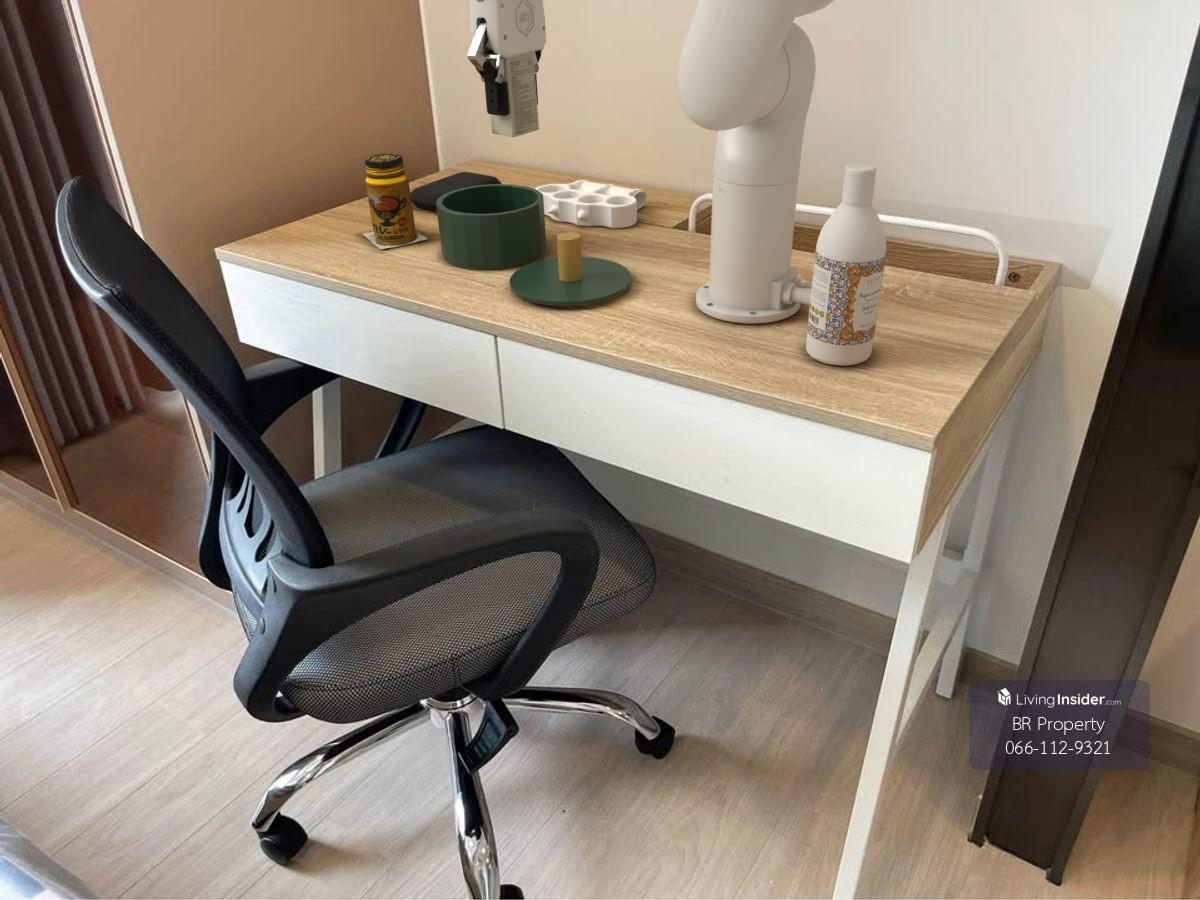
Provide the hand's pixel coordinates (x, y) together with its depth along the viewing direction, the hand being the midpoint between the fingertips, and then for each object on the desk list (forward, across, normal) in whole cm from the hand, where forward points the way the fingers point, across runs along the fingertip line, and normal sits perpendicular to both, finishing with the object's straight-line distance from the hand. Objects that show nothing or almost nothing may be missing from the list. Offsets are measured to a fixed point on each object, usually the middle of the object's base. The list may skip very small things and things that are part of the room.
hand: (513, 108), depth 119 cm
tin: (+19, -2, +4) cm, 20 cm away
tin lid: (+19, -8, -13) cm, 24 cm away
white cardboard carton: (+3, 0, 0) cm, 3 cm away
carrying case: (+20, +15, +25) cm, 35 cm away
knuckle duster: (+20, +19, +1) cm, 27 cm away
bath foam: (+19, -11, -50) cm, 54 cm away
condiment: (+20, -4, +20) cm, 29 cm away
